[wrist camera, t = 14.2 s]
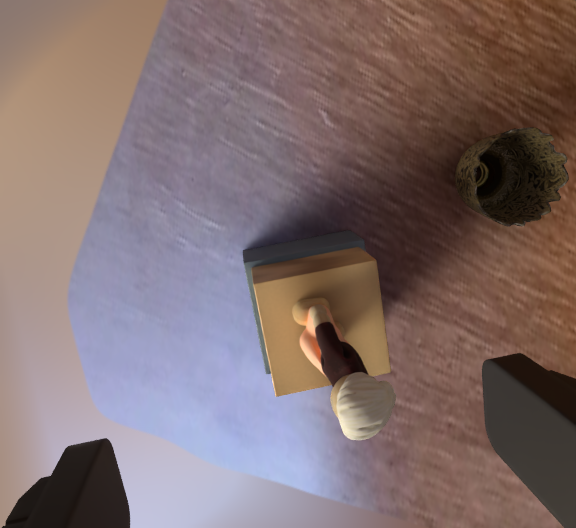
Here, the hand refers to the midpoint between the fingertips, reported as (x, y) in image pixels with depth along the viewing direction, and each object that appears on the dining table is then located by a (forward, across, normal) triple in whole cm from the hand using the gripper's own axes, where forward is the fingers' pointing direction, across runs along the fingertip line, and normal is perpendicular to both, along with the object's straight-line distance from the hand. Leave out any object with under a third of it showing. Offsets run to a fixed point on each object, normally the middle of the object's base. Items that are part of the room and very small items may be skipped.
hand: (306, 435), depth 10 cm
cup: (+34, -21, -1) cm, 40 cm away
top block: (+29, -4, +8) cm, 30 cm away
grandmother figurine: (+24, -4, +8) cm, 25 cm away
